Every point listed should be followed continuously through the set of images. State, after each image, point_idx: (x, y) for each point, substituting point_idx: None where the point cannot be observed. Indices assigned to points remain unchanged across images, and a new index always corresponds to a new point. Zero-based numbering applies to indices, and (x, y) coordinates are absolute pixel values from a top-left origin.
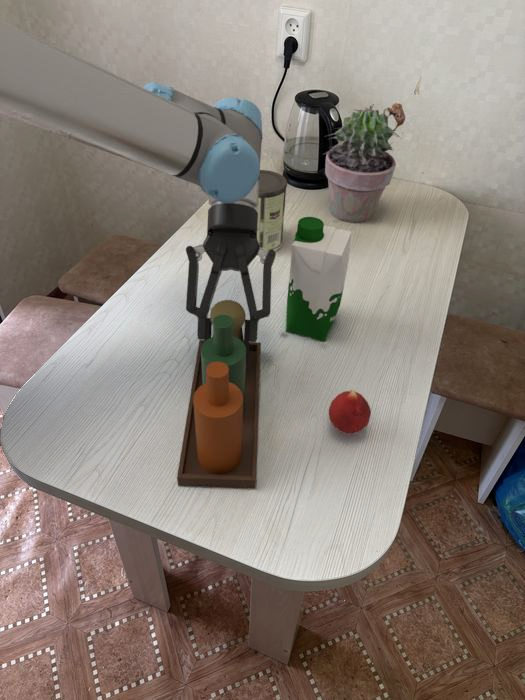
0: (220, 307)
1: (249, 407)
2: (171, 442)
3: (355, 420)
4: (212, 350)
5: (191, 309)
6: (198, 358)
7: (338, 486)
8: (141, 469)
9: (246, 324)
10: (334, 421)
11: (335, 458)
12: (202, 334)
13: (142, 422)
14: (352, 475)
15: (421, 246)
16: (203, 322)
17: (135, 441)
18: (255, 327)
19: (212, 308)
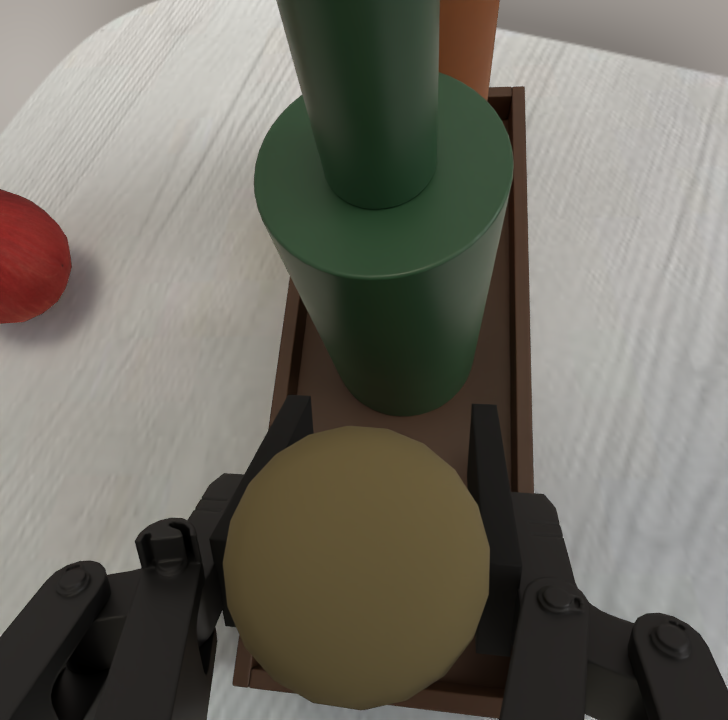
0: (405, 551)
1: (318, 351)
2: (562, 235)
3: None
4: (443, 152)
5: (653, 626)
6: None
7: (129, 141)
8: (629, 154)
9: None
10: (53, 221)
11: (111, 207)
12: (523, 508)
13: (677, 302)
14: (87, 167)
15: None
16: (531, 565)
17: (677, 234)
18: (196, 524)
19: (474, 578)
